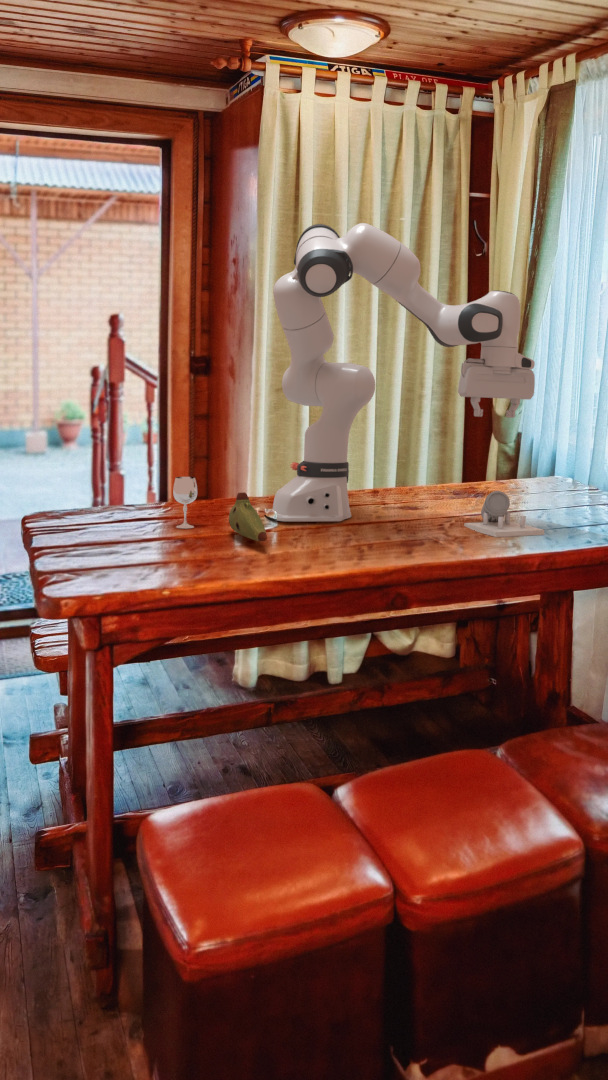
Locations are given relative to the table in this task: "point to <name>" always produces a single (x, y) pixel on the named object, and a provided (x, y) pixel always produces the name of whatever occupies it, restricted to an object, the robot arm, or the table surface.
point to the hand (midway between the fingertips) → (494, 417)
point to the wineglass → (185, 494)
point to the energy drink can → (495, 505)
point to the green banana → (246, 519)
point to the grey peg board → (504, 527)
